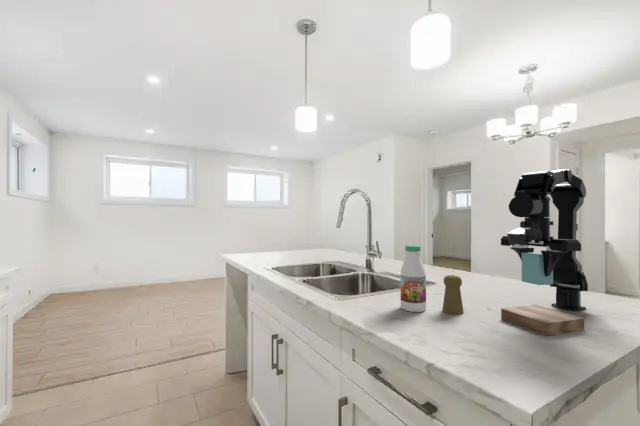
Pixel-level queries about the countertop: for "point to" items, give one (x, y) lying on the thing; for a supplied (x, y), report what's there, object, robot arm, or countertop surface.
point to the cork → (452, 295)
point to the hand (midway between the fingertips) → (537, 274)
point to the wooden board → (542, 319)
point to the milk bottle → (413, 281)
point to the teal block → (535, 269)
